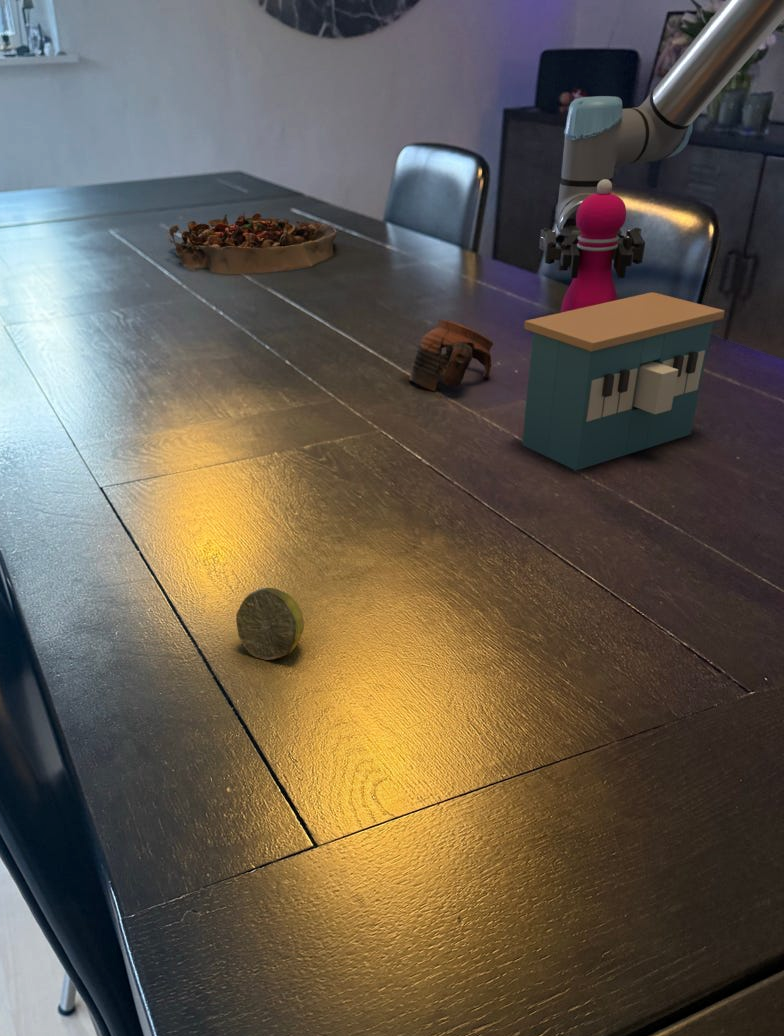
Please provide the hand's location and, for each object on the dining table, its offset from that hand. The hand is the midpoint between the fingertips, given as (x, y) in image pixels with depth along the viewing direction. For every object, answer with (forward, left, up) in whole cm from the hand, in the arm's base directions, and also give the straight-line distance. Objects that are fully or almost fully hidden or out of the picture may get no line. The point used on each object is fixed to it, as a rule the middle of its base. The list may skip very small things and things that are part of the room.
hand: (599, 266), depth 114 cm
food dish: (+59, -62, -11) cm, 86 cm away
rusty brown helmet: (+17, +12, -11) cm, 24 cm away
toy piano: (0, +29, -11) cm, 31 cm away
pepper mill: (0, -5, -11) cm, 12 cm away
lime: (+27, +71, -11) cm, 77 cm away
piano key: (-3, +32, -6) cm, 33 cm away
